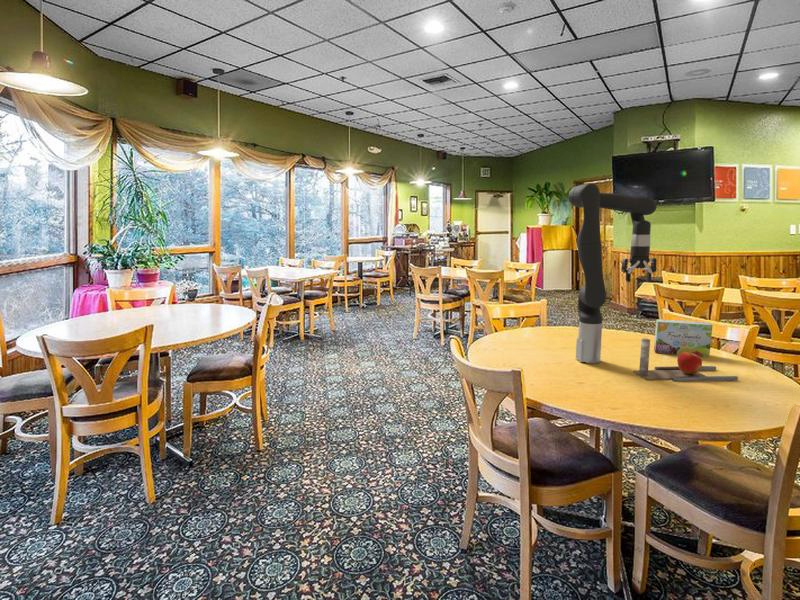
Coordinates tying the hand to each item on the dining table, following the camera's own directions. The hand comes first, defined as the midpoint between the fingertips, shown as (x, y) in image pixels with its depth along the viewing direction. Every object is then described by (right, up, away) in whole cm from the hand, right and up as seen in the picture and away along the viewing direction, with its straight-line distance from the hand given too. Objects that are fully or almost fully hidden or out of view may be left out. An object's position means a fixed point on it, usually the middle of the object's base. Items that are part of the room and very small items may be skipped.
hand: (638, 281), depth 208 cm
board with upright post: (0, -38, -25) cm, 45 cm away
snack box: (+21, -33, +4) cm, 39 cm away
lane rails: (+9, -38, -25) cm, 46 cm away
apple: (+7, -37, -25) cm, 45 cm away
